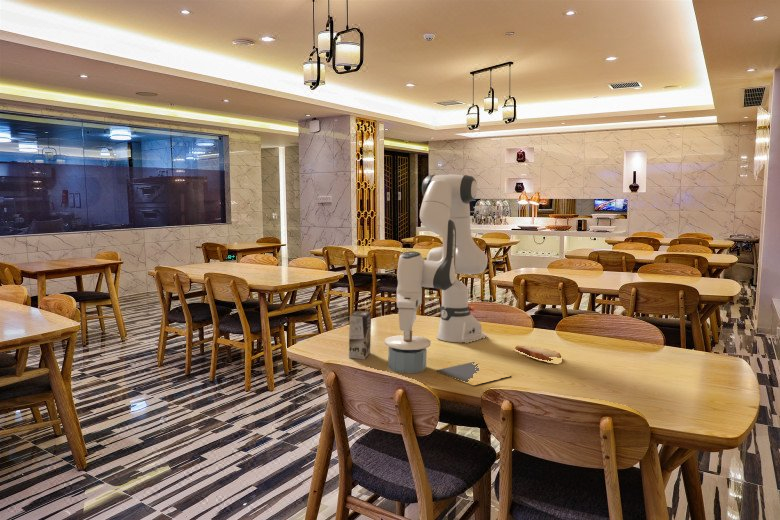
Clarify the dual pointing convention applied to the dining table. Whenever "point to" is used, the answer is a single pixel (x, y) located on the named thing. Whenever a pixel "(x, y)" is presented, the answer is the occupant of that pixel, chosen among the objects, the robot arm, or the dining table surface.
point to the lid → (407, 342)
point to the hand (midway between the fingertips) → (407, 337)
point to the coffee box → (360, 334)
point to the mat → (461, 371)
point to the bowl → (407, 360)
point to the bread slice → (538, 352)
